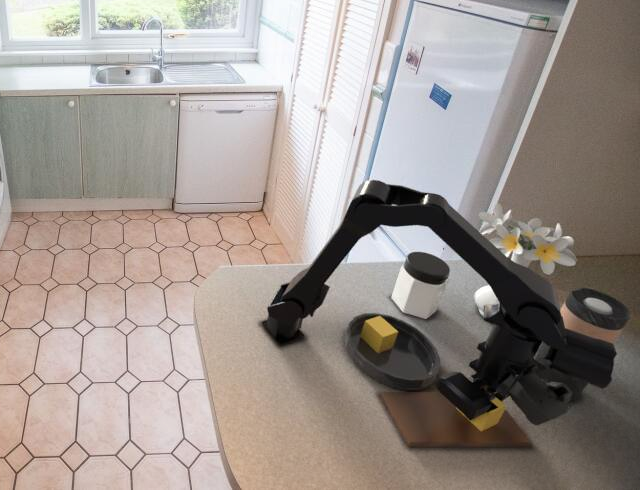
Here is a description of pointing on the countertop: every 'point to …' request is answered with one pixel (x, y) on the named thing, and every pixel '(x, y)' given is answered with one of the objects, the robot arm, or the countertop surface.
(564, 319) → the travel mug
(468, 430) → the board
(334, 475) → the countertop surface
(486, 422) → the cheese front
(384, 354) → the pan
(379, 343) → the cheese back
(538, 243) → the flower vase
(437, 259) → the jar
